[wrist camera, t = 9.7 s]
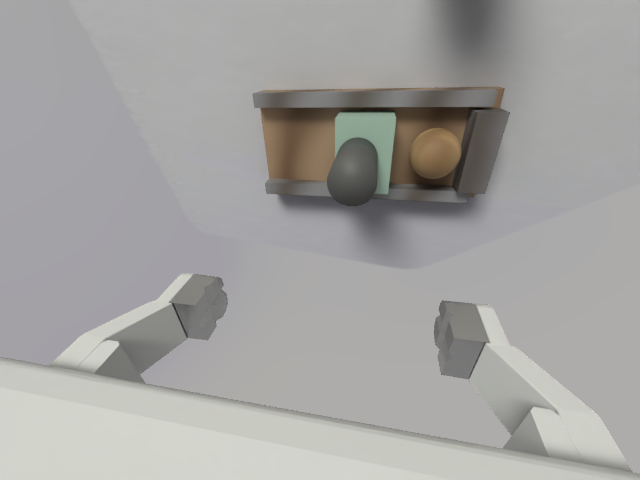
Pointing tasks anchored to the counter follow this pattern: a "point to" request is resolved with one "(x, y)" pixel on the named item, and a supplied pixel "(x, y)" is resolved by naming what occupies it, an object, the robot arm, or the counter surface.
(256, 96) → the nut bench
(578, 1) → the counter surface
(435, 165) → the walnut
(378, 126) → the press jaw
